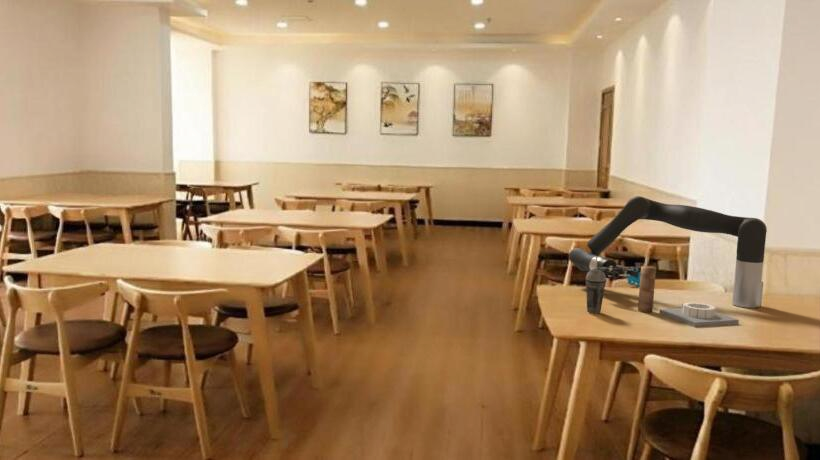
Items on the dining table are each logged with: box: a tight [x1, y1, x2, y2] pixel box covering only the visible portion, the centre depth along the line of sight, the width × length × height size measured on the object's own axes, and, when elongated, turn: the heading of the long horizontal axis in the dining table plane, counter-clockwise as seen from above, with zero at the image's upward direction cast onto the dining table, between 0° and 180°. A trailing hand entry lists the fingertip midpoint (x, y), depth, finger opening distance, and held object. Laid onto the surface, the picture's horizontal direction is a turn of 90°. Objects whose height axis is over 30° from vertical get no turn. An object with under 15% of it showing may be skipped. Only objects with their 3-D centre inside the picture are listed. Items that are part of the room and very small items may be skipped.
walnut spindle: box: [637, 265, 657, 314], centre depth 243 cm, size 5×5×16 cm
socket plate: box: [658, 302, 740, 328], centre depth 235 cm, size 18×18×4 cm
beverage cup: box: [585, 257, 607, 315], centre depth 238 cm, size 7×7×20 cm
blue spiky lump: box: [624, 265, 641, 288], centre depth 290 cm, size 11×6×10 cm
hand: (627, 275), depth 253 cm, fingers open, 8 cm apart
